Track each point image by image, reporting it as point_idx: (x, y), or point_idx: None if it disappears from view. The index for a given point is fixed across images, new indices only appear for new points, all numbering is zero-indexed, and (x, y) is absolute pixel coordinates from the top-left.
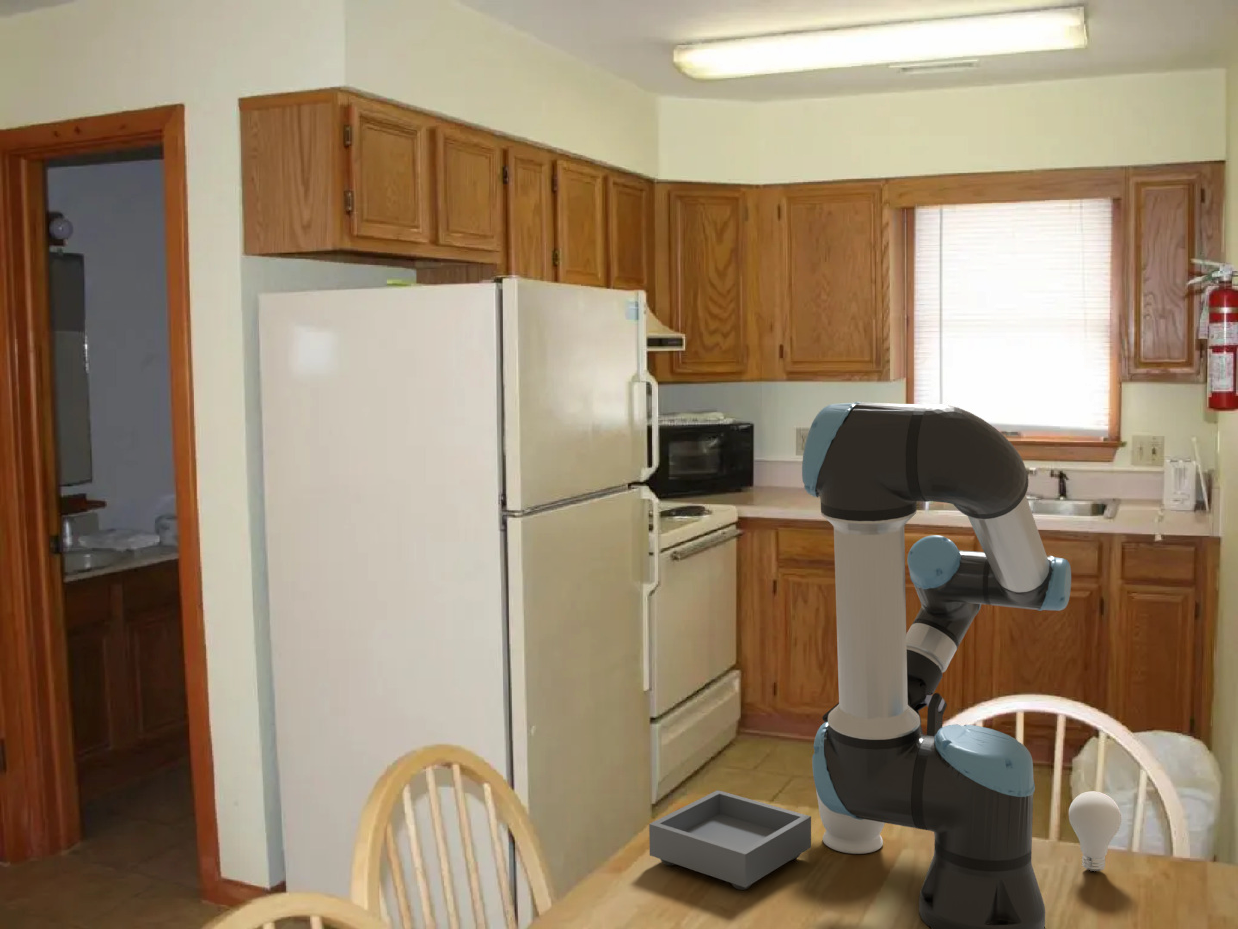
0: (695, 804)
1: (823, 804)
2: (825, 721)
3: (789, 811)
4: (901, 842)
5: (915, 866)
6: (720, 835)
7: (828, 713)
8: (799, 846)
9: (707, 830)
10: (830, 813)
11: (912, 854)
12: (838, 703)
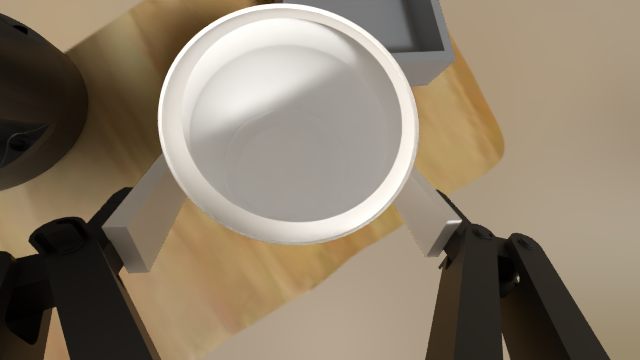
0: (433, 2)
1: (305, 102)
2: (510, 236)
3: None
4: (237, 233)
5: None
6: (373, 19)
7: (540, 257)
8: None
9: (394, 21)
10: (288, 108)
11: (198, 211)
12: (576, 309)
